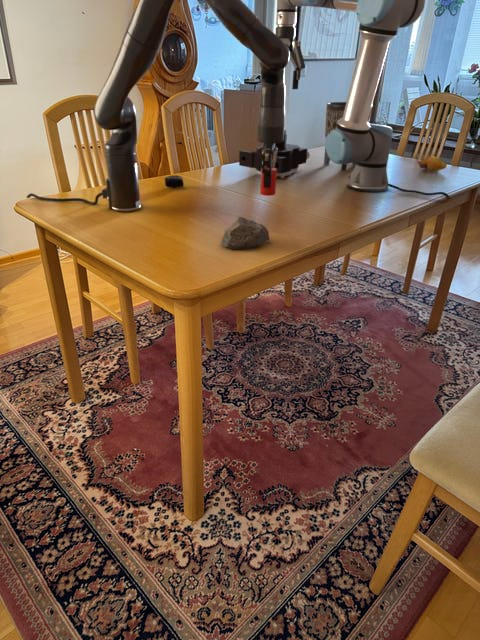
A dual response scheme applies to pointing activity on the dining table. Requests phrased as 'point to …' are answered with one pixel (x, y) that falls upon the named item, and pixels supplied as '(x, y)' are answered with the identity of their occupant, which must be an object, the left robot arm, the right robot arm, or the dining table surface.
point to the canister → (272, 189)
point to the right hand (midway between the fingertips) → (282, 88)
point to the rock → (245, 234)
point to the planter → (332, 116)
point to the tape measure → (174, 181)
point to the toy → (432, 164)
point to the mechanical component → (277, 158)
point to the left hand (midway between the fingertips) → (268, 185)
